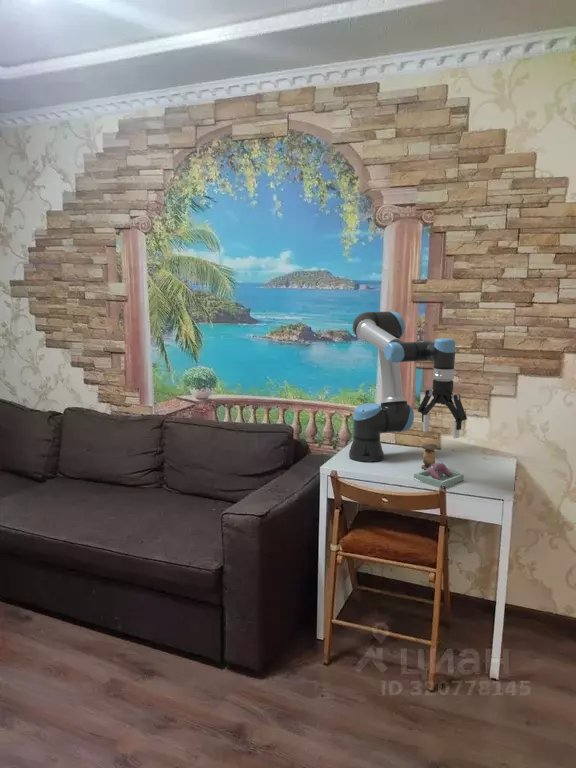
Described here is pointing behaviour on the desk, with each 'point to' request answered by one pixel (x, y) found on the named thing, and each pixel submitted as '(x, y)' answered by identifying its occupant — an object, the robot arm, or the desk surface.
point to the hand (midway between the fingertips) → (440, 434)
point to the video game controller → (438, 471)
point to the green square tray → (443, 480)
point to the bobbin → (428, 455)
